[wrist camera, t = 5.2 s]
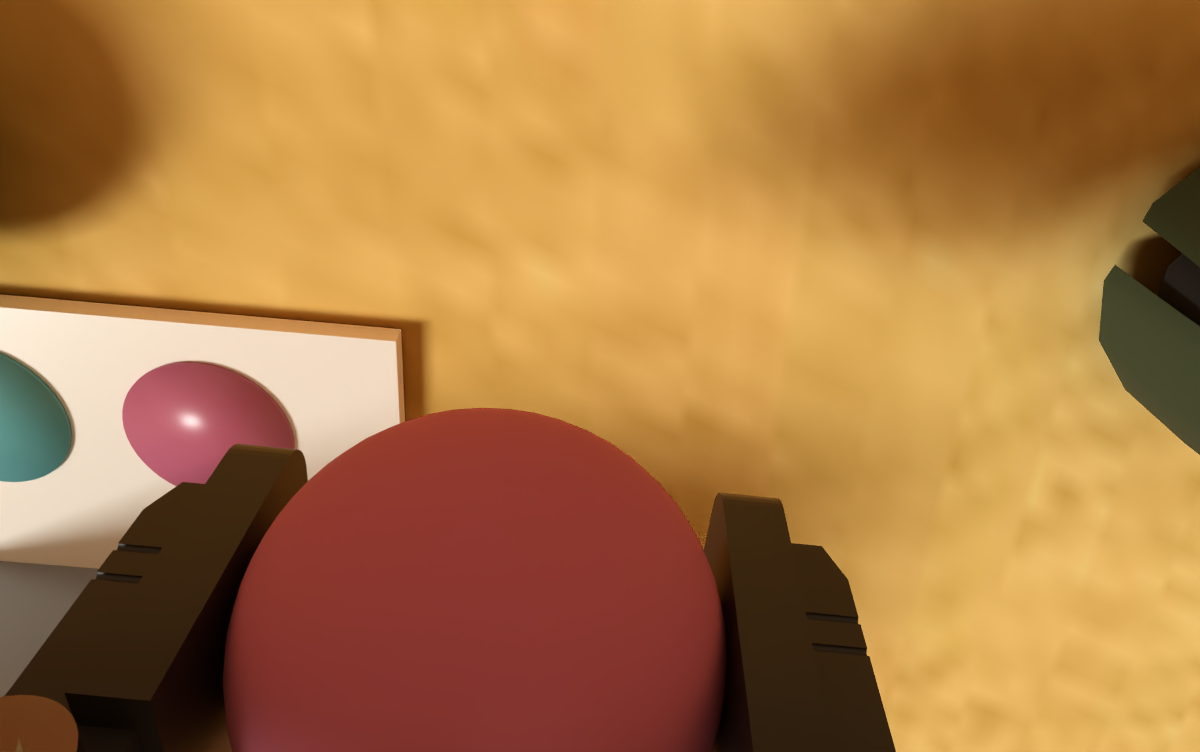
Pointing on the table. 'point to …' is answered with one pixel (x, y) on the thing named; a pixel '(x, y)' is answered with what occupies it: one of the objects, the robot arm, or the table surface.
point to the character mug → (1161, 320)
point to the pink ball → (477, 601)
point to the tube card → (153, 427)
